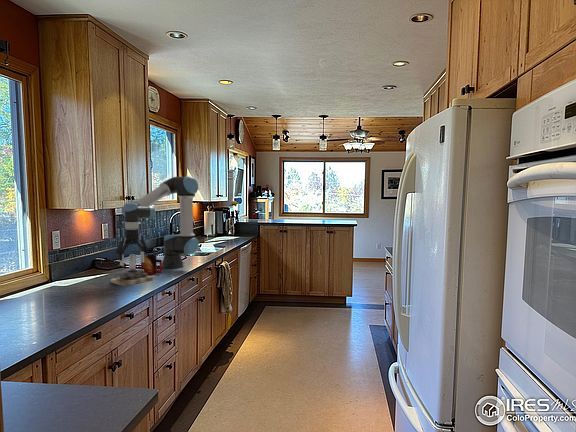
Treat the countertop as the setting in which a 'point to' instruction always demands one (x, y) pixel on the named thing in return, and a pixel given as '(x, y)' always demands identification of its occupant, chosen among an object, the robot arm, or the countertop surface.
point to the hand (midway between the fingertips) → (132, 264)
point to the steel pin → (132, 263)
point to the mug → (151, 264)
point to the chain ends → (131, 277)
